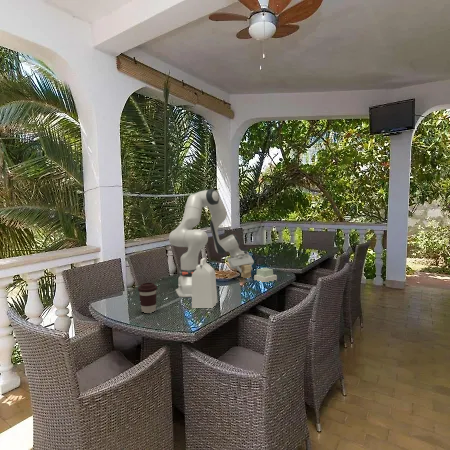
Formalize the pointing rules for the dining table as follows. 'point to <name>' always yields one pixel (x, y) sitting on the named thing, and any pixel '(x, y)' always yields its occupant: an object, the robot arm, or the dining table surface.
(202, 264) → the milk
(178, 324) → the dining table surface
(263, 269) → the tower top block
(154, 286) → the coffee cup
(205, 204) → the robot arm
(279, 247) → the dining table surface
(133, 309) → the dining table surface
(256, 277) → the tower base slab
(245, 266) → the beech pillar
